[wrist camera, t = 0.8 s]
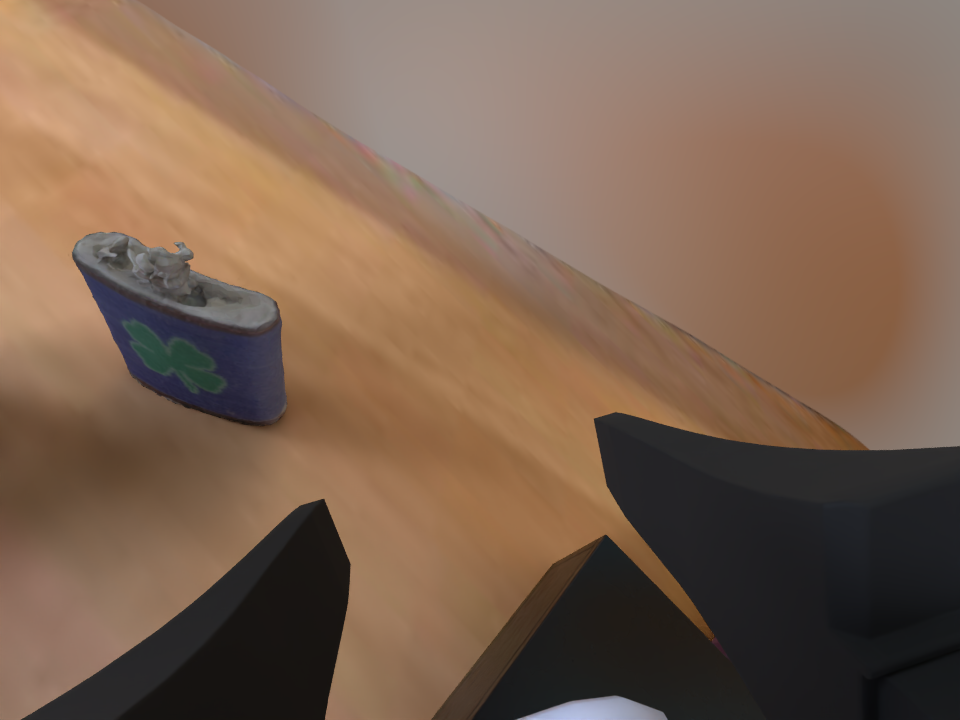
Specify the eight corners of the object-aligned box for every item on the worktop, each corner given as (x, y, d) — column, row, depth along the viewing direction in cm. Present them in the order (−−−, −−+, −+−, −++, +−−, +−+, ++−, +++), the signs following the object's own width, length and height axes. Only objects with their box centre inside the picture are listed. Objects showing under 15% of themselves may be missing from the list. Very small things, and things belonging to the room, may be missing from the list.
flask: (295, 400, 27) (288, 273, 19) (268, 440, 26) (247, 318, 17) (150, 342, 27) (80, 186, 19) (112, 378, 25) (15, 223, 17)
